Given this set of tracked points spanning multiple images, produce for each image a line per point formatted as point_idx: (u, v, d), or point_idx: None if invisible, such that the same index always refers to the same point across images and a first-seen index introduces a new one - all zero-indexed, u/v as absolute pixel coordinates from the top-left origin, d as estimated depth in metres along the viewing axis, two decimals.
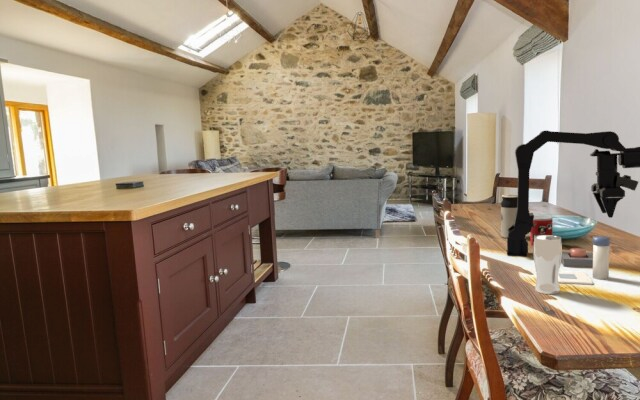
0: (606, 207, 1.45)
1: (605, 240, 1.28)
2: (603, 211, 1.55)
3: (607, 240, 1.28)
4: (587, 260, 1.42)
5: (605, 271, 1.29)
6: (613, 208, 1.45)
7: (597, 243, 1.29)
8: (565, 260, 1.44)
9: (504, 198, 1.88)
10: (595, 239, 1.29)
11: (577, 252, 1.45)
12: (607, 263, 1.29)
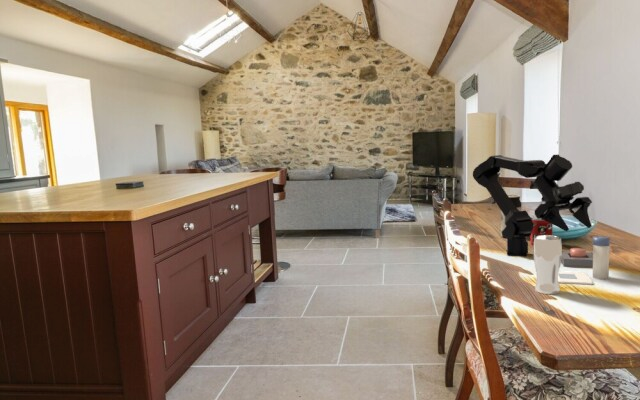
0: (555, 224, 1.38)
1: (605, 240, 1.28)
2: (588, 226, 1.38)
3: (607, 240, 1.28)
4: (587, 260, 1.42)
5: (605, 271, 1.29)
6: (560, 221, 1.36)
7: (597, 243, 1.29)
8: (565, 260, 1.44)
9: None
10: (595, 239, 1.29)
11: (577, 252, 1.45)
12: (607, 263, 1.29)
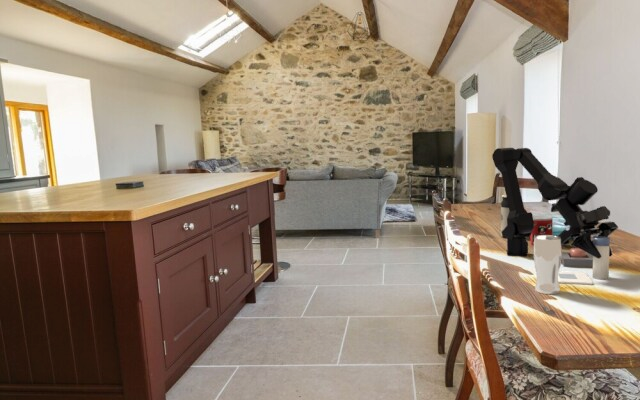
0: (586, 250, 1.31)
1: (605, 240, 1.28)
2: (609, 254, 1.30)
3: (607, 240, 1.28)
4: (587, 260, 1.42)
5: (605, 271, 1.29)
6: (592, 247, 1.29)
7: (597, 243, 1.29)
8: (565, 260, 1.44)
9: (504, 198, 1.88)
10: (595, 239, 1.29)
11: (577, 252, 1.45)
12: (607, 263, 1.29)
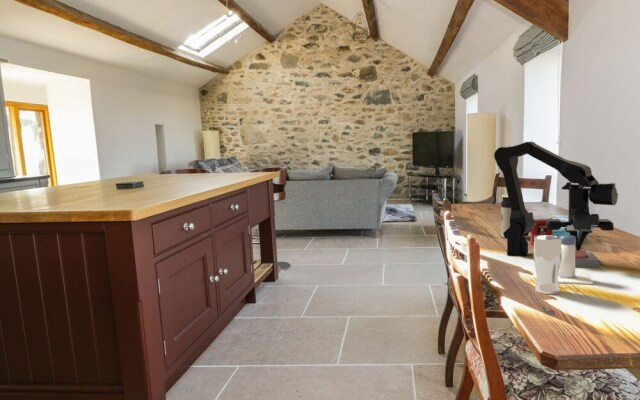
0: None
1: (568, 239, 1.29)
2: None
3: (571, 239, 1.29)
4: (587, 260, 1.42)
5: (569, 270, 1.30)
6: None
7: (561, 242, 1.31)
8: None
9: (504, 198, 1.88)
10: None
11: (577, 253, 1.45)
12: (572, 262, 1.30)
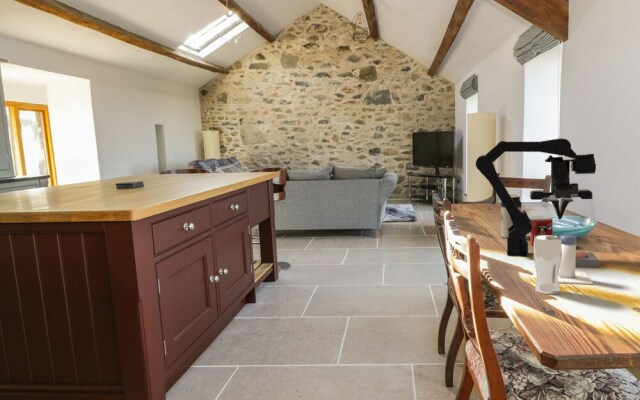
0: None
1: (569, 239, 1.29)
2: None
3: (572, 239, 1.29)
4: (587, 260, 1.42)
5: (570, 270, 1.30)
6: (556, 210, 1.56)
7: (562, 241, 1.31)
8: None
9: None
10: (561, 237, 1.31)
11: (577, 255, 1.45)
12: (572, 262, 1.30)
